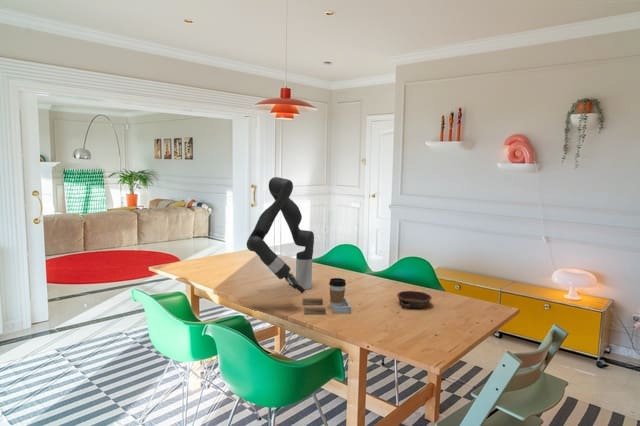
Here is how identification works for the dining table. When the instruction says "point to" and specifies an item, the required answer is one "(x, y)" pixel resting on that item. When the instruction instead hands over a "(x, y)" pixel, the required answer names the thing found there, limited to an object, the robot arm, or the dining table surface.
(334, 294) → the coffee cup
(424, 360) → the dining table surface
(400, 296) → the dish
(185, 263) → the dining table surface
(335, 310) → the corral
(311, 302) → the clamp blocks
